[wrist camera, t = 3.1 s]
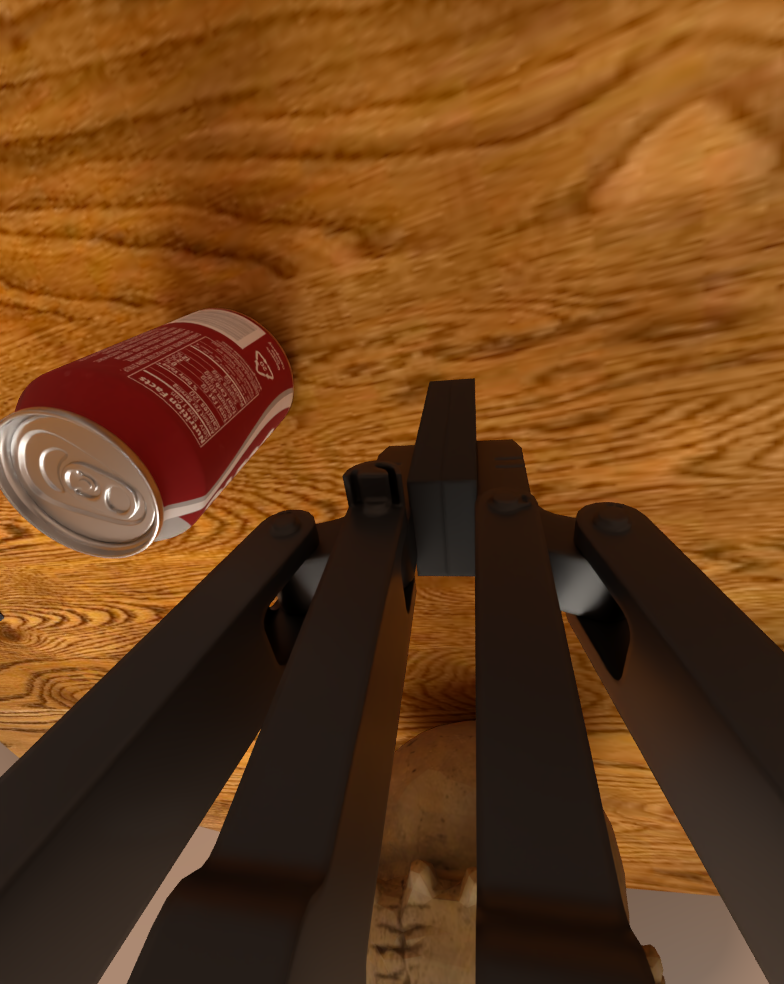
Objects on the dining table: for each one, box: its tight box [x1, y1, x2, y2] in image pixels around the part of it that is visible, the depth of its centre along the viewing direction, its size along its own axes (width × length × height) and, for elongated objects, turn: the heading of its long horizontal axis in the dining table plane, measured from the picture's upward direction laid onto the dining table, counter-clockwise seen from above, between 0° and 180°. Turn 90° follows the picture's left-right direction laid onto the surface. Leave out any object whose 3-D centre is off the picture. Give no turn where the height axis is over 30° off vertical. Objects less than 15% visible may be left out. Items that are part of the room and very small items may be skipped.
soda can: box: [0, 308, 294, 558], centre depth 19 cm, size 7×7×12 cm
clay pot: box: [366, 721, 665, 984], centre depth 32 cm, size 21×21×20 cm
